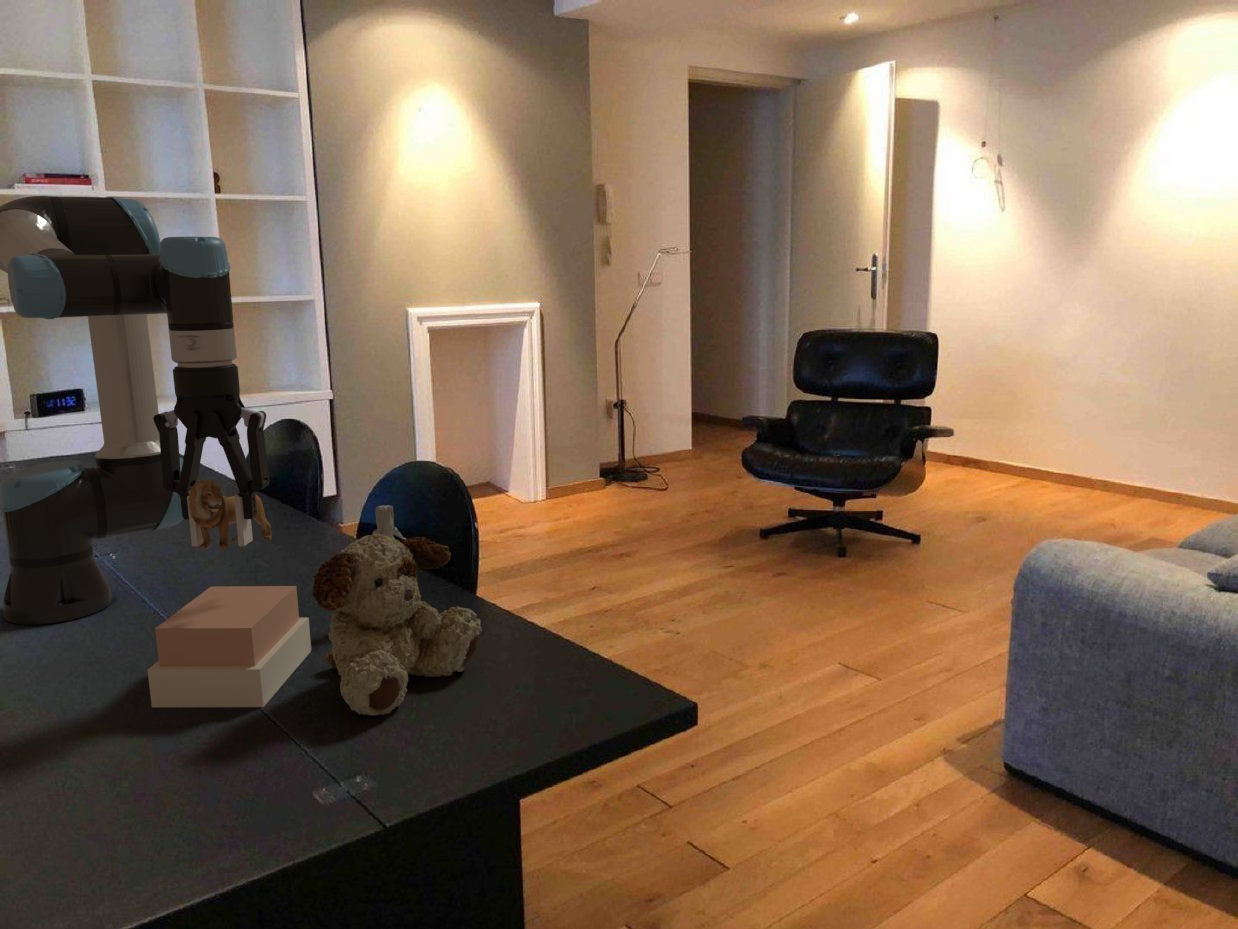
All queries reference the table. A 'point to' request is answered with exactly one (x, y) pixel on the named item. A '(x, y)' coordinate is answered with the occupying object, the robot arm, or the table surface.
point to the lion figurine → (219, 513)
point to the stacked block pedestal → (229, 648)
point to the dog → (389, 620)
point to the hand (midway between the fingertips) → (222, 542)
